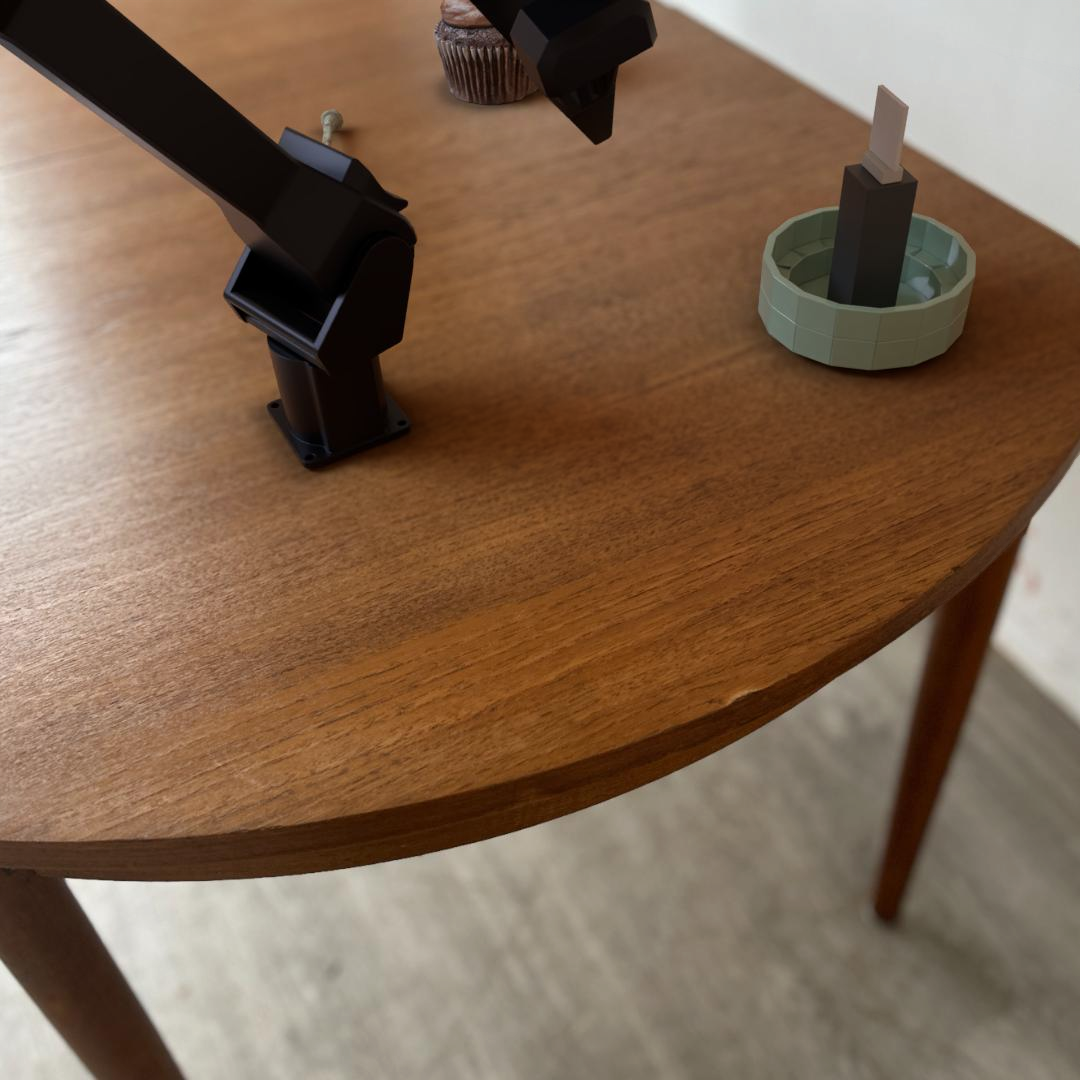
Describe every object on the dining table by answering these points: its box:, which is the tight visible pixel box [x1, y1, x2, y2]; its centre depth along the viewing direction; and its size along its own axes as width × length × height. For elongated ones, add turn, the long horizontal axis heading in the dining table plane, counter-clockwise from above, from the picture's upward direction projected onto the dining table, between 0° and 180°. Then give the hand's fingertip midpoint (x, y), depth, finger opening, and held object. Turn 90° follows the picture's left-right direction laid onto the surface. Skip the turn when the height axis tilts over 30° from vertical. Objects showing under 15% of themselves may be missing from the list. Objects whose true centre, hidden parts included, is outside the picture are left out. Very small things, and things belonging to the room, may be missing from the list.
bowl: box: [757, 205, 977, 371], centre depth 71 cm, size 12×12×4 cm
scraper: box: [827, 84, 919, 308], centre depth 68 cm, size 3×3×13 cm
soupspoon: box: [320, 109, 344, 147], centre depth 87 cm, size 22×3×7 cm
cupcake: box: [432, 0, 539, 105], centre depth 97 cm, size 10×10×10 cm
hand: (568, 99), depth 69 cm, fingers open, 9 cm apart
